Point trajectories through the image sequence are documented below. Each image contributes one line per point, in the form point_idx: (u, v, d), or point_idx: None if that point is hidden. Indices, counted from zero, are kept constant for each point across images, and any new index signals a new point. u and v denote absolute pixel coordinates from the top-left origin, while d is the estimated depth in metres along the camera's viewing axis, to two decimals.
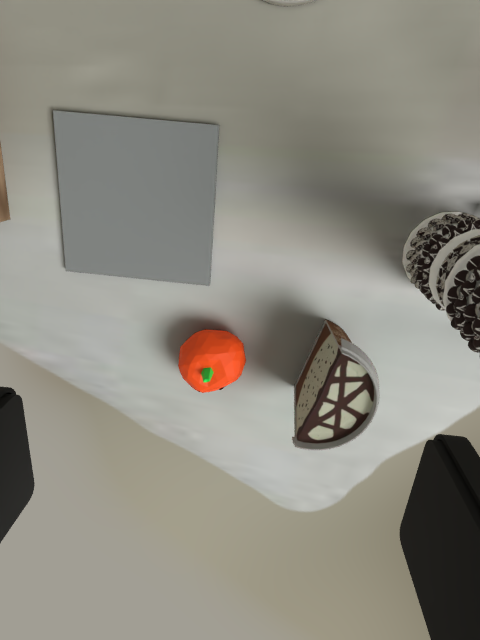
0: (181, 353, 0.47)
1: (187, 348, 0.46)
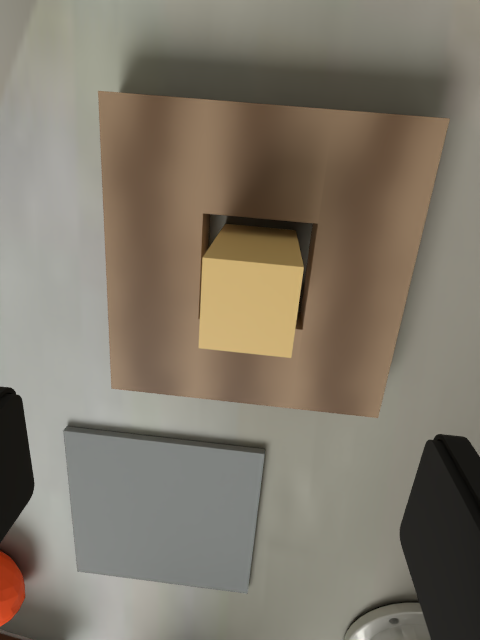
0: None
1: None
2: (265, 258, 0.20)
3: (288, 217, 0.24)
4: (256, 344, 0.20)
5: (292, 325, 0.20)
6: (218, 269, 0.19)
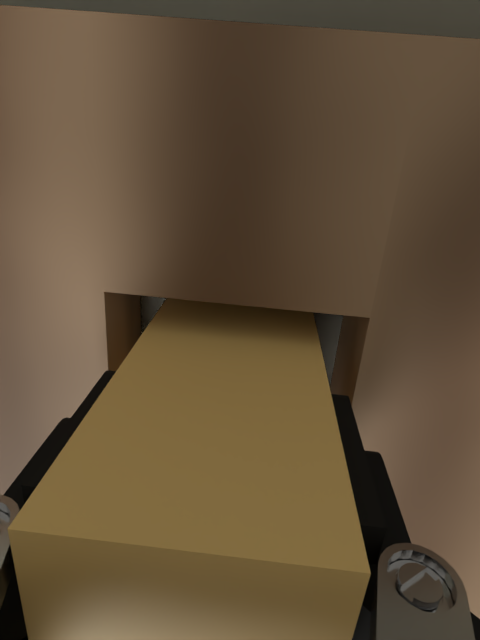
0: None
1: None
2: (235, 499, 0.06)
3: (301, 303, 0.10)
4: None
5: None
6: (68, 563, 0.05)
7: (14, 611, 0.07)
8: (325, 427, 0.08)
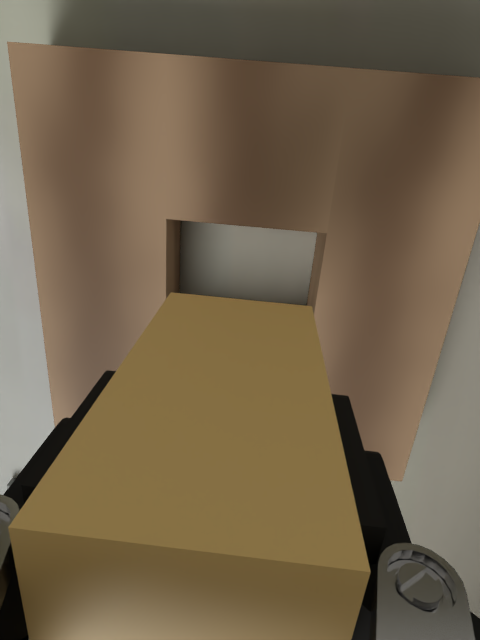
0: None
1: None
2: (235, 498, 0.06)
3: (285, 224, 0.17)
4: None
5: None
6: (69, 561, 0.05)
7: (14, 611, 0.07)
8: (325, 426, 0.08)
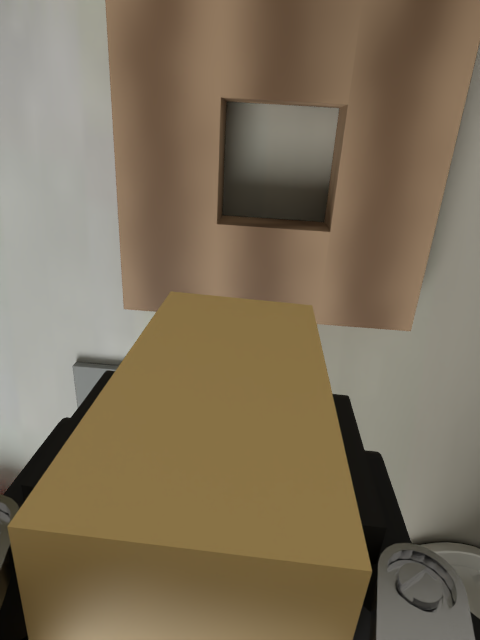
0: None
1: None
2: (236, 497, 0.06)
3: (315, 98, 0.22)
4: None
5: None
6: (68, 561, 0.05)
7: (14, 611, 0.07)
8: (326, 425, 0.08)
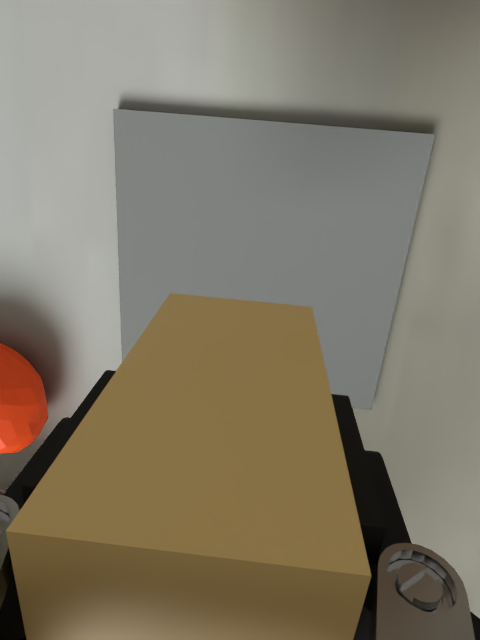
0: None
1: None
2: (235, 500, 0.06)
3: None
4: None
5: None
6: (67, 565, 0.05)
7: (14, 611, 0.07)
8: (325, 428, 0.08)
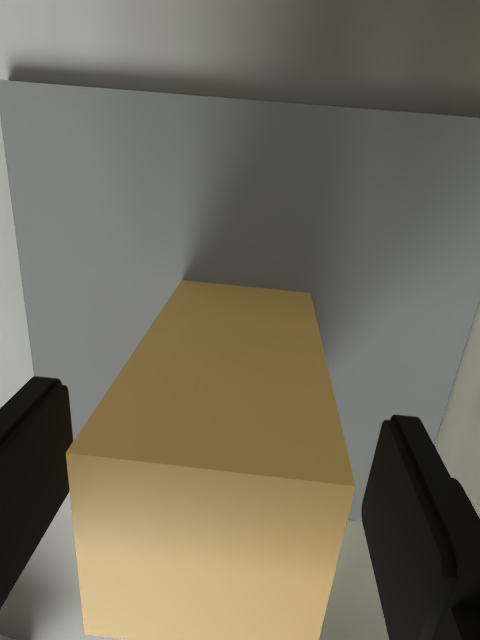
0: None
1: None
2: (246, 436, 0.07)
3: None
4: (227, 635, 0.08)
5: (318, 606, 0.08)
6: (113, 481, 0.07)
7: None
8: (321, 386, 0.09)
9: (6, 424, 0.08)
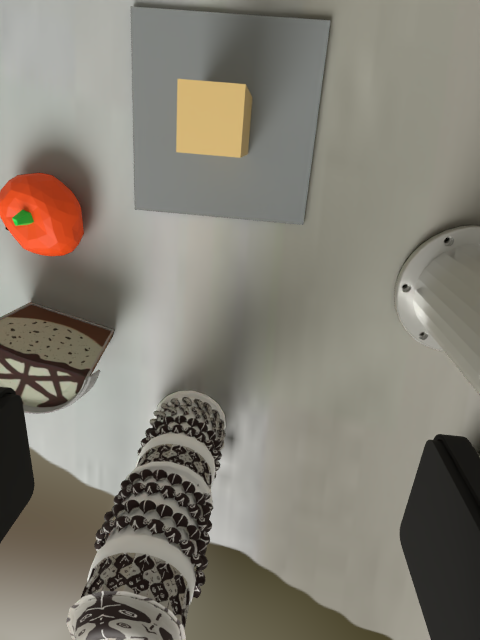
0: (43, 179, 0.37)
1: (52, 188, 0.37)
2: None
3: None
4: (216, 147, 0.29)
5: (240, 130, 0.29)
6: (188, 87, 0.28)
7: None
8: None
9: None
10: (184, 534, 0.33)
